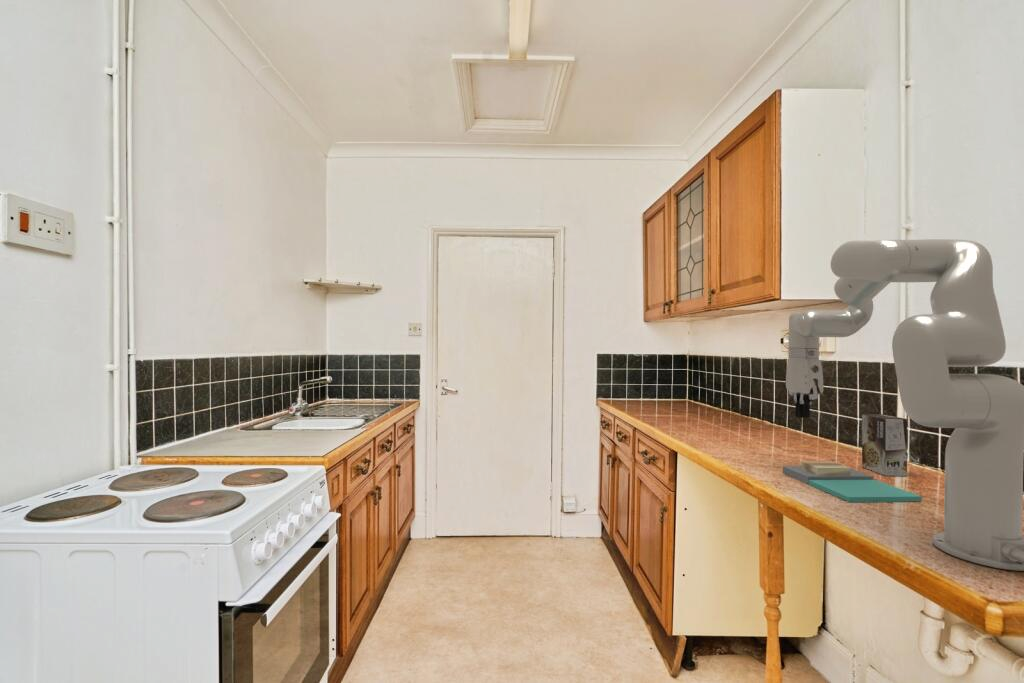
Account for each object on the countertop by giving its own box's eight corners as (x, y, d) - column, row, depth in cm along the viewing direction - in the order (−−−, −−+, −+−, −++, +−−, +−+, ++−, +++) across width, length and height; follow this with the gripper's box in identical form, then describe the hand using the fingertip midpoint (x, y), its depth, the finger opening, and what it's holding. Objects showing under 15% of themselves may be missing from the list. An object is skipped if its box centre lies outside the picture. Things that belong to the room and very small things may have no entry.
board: (873, 483, 119) (873, 476, 119) (807, 484, 118) (807, 476, 118) (843, 472, 129) (843, 465, 129) (782, 473, 128) (782, 466, 128)
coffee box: (908, 476, 126) (909, 418, 126) (885, 476, 126) (885, 418, 126) (882, 467, 135) (882, 413, 135) (860, 467, 135) (861, 413, 135)
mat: (921, 501, 106) (921, 496, 106) (848, 502, 105) (848, 497, 105) (874, 484, 119) (874, 479, 119) (808, 484, 118) (808, 480, 118)
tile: (850, 475, 120) (850, 467, 120) (817, 475, 119) (817, 467, 119) (833, 468, 126) (833, 461, 126) (802, 469, 125) (802, 461, 125)
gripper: (835, 355, 124) (834, 422, 125) (798, 353, 139) (797, 412, 140) (809, 355, 124) (808, 422, 124) (774, 353, 139) (773, 412, 139)
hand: (802, 417), depth 132 cm, fingers closed
